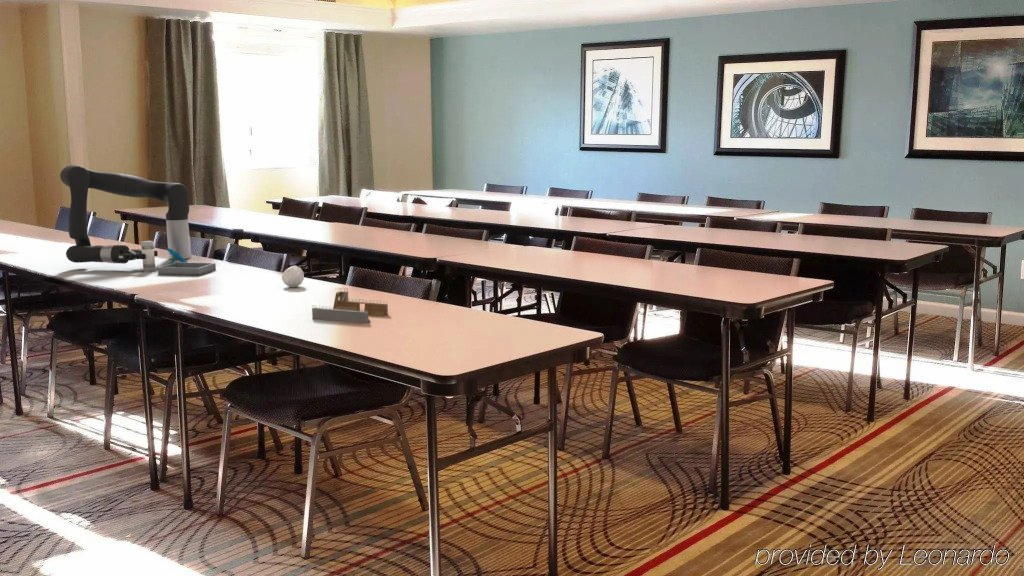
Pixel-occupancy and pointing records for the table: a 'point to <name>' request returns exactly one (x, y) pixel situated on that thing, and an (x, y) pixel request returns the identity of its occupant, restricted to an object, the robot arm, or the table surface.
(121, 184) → the robot arm
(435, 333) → the table surface
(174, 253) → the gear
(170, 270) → the parts tray
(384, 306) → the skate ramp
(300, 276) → the white ball
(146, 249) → the fuse
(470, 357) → the table surface
